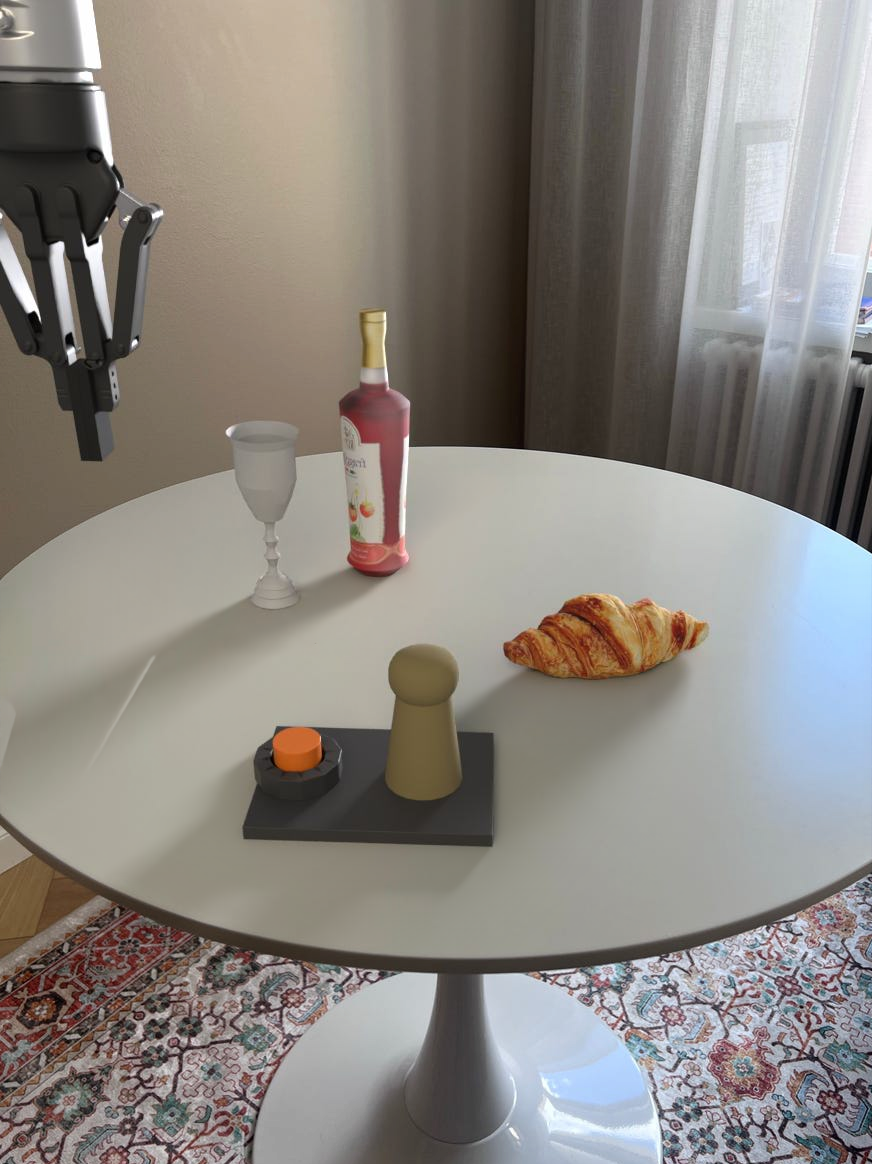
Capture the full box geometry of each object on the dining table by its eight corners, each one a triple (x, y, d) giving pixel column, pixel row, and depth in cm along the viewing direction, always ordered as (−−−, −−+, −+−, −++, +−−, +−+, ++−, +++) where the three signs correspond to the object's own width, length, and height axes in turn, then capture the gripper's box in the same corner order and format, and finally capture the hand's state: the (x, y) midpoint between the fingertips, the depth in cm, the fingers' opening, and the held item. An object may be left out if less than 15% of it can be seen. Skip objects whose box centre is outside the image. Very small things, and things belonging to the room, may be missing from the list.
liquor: (423, 572, 114) (424, 314, 100) (367, 588, 110) (359, 322, 96) (388, 549, 119) (383, 301, 105) (333, 564, 115) (321, 308, 101)
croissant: (685, 660, 105) (677, 583, 105) (739, 662, 95) (731, 577, 95) (492, 687, 98) (482, 605, 98) (529, 693, 89) (519, 602, 89)
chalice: (228, 594, 108) (211, 428, 99) (284, 577, 112) (272, 416, 103) (266, 620, 103) (251, 448, 94) (322, 600, 107) (313, 434, 98)
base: (240, 840, 74) (236, 807, 72) (274, 737, 85) (271, 707, 84) (492, 847, 74) (493, 815, 72) (492, 744, 85) (494, 714, 84)
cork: (391, 805, 76) (388, 678, 71) (379, 758, 81) (375, 637, 76) (470, 794, 77) (473, 670, 72) (453, 749, 82) (455, 629, 77)
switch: (270, 772, 77) (268, 753, 76) (279, 744, 80) (277, 725, 79) (317, 773, 77) (316, 754, 76) (325, 746, 80) (323, 727, 79)
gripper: (-104, 74, 58) (-17, 470, 70) (125, 81, 58) (174, 475, 70) (-43, 74, 65) (28, 435, 76) (163, 80, 65) (202, 441, 76)
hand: (98, 454), depth 73 cm, fingers closed
